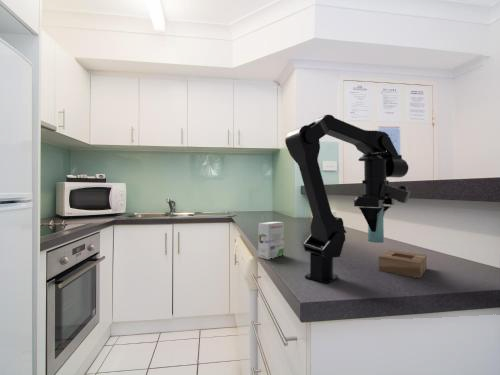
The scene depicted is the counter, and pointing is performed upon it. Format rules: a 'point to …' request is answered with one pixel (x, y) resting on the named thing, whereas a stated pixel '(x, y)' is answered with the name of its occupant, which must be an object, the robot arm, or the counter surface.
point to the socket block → (403, 263)
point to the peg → (377, 231)
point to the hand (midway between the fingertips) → (375, 230)
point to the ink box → (271, 240)
